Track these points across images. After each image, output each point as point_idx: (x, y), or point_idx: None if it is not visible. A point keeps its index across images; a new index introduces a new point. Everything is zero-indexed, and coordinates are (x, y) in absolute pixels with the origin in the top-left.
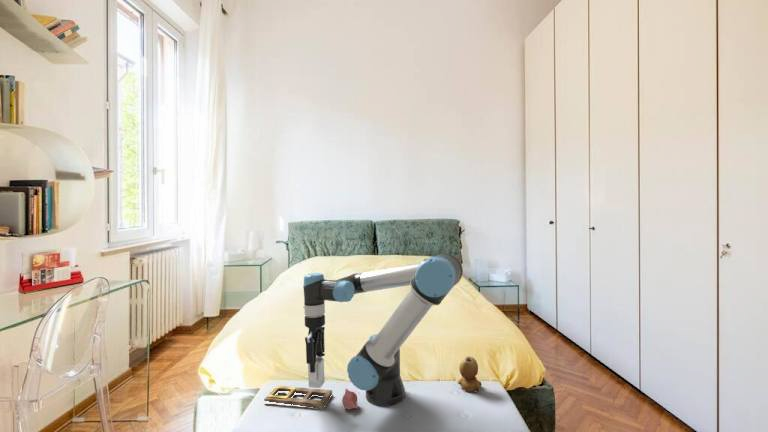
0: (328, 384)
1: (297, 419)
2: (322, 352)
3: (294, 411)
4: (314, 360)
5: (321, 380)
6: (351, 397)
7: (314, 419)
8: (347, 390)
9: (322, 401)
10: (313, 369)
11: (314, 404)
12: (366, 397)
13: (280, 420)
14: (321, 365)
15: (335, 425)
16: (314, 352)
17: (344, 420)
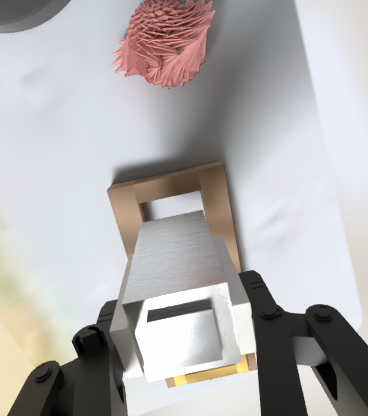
0: (41, 248)
1: (302, 209)
2: (86, 365)
3: (261, 248)
4: (289, 326)
5: (182, 225)
6: (187, 13)
7: (288, 152)
8: (153, 59)
9: (206, 177)
10: (264, 284)
11: (228, 198)
12: (63, 3)
13: (320, 255)
14: (180, 272)
15: (304, 46)
16: (304, 403)
17: (262, 25)
